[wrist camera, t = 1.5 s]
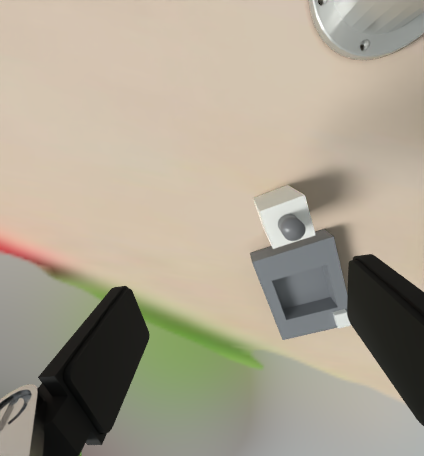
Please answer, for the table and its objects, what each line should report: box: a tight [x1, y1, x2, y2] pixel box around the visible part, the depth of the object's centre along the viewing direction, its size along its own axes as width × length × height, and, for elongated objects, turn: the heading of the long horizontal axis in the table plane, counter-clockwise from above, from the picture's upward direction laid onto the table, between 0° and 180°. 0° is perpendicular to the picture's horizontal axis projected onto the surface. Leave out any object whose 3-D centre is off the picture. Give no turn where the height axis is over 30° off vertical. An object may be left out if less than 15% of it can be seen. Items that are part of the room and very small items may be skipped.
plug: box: [253, 185, 315, 249], centre depth 22 cm, size 4×4×8 cm
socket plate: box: [250, 229, 351, 340], centre depth 28 cm, size 10×14×3 cm
